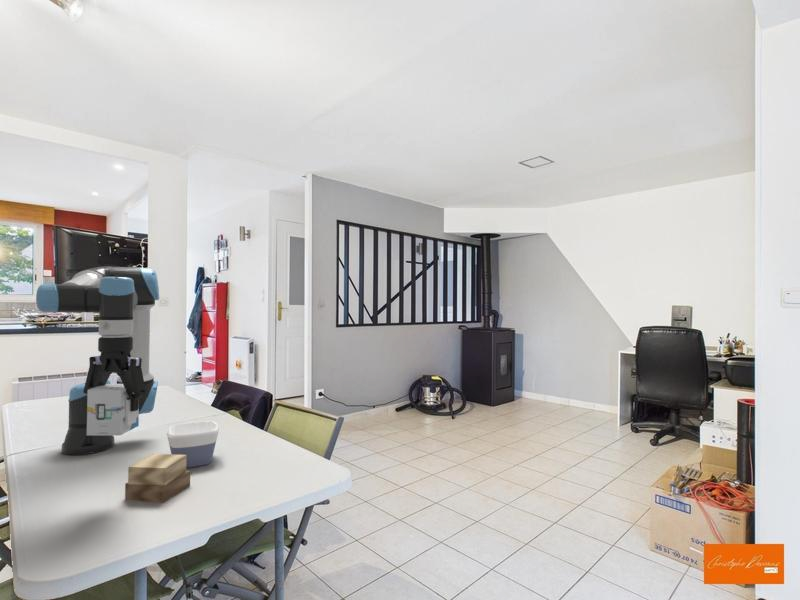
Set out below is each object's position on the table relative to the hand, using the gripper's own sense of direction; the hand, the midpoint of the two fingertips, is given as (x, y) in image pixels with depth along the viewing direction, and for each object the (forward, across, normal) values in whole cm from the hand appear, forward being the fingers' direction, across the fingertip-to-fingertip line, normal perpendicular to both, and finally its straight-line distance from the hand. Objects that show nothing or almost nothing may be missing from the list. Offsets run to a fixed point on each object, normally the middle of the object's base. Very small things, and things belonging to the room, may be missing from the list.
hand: (114, 422), depth 110 cm
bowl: (+21, +1, +30) cm, 36 cm away
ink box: (+2, 0, 0) cm, 2 cm away
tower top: (+16, +7, +8) cm, 20 cm away
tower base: (+21, +7, +8) cm, 24 cm away
